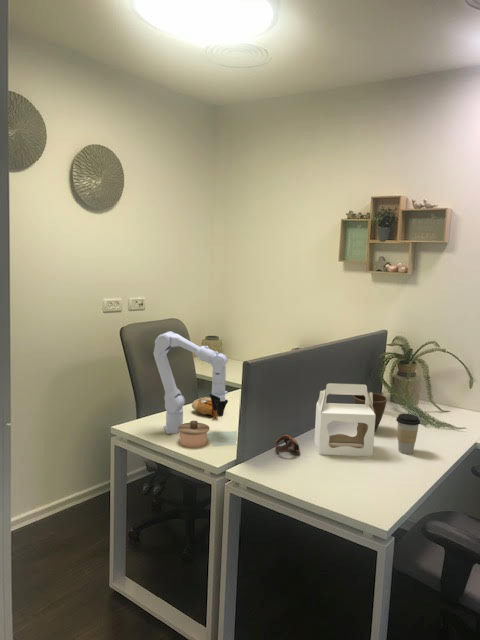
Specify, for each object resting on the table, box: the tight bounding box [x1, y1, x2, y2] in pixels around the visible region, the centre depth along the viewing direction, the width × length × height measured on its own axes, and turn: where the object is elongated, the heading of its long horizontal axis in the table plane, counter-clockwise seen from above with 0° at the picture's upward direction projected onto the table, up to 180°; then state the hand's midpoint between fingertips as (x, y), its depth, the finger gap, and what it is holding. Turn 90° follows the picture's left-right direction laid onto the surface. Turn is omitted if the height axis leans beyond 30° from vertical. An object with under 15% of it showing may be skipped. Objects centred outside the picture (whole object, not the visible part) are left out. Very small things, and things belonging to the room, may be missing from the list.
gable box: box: [313, 382, 376, 457], centre depth 208 cm, size 22×13×28 cm, turn 90°
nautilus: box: [191, 396, 219, 420], centre depth 246 cm, size 8×22×15 cm
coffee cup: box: [395, 413, 421, 455], centre depth 209 cm, size 9×9×15 cm
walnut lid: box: [178, 420, 210, 435], centre depth 210 cm, size 13×13×3 cm
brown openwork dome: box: [274, 433, 301, 456], centre depth 205 cm, size 12×10×8 cm
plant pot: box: [353, 392, 388, 433], centre depth 233 cm, size 15×15×16 cm
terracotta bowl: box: [179, 432, 208, 448], centre depth 210 cm, size 11×11×6 cm
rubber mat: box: [207, 430, 238, 447], centre depth 216 cm, size 15×15×1 cm
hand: (217, 412), depth 219 cm, fingers open, 7 cm apart
